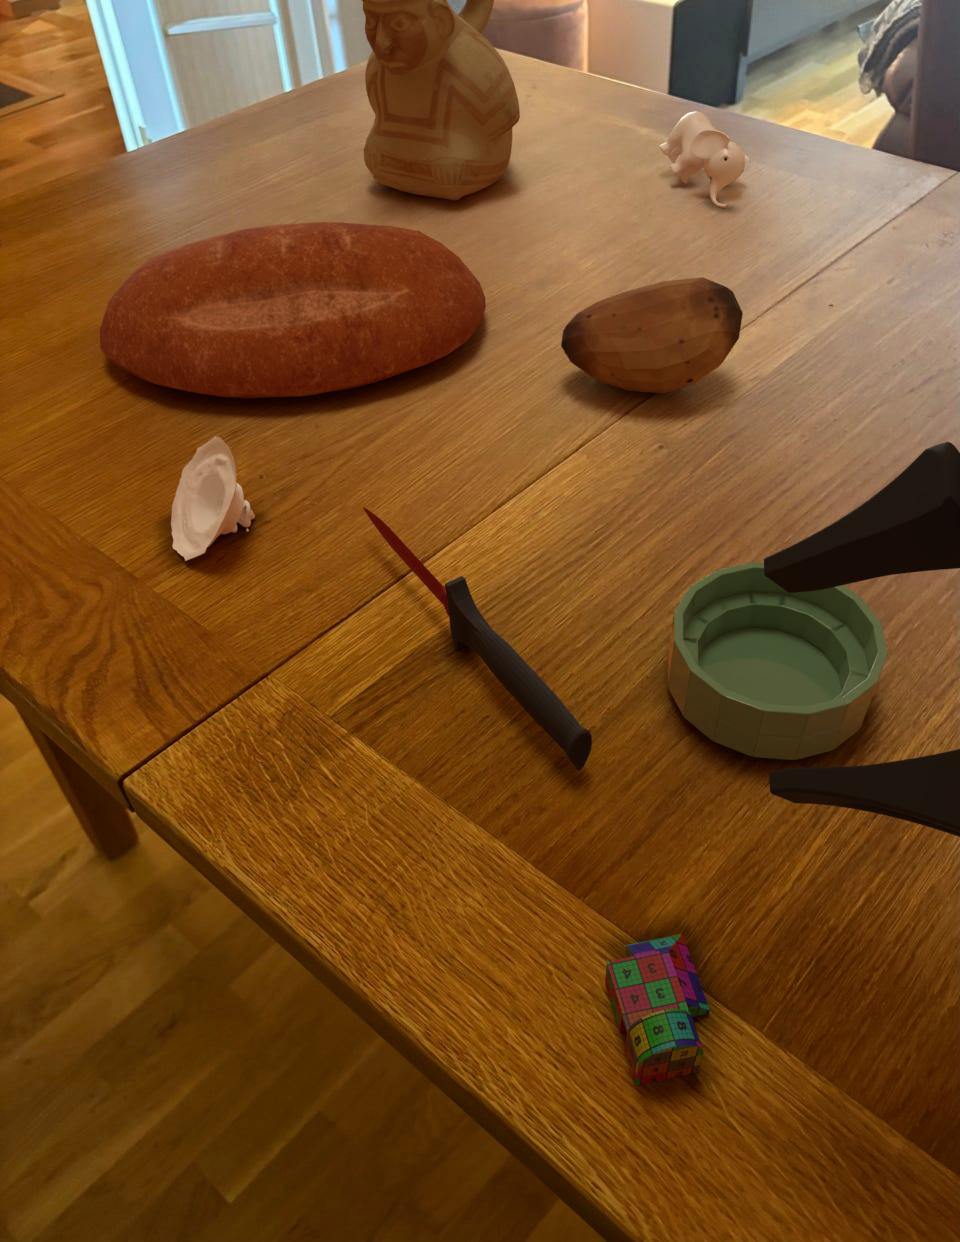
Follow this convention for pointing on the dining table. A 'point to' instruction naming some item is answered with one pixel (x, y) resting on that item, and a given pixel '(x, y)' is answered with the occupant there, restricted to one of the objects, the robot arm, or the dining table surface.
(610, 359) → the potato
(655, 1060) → the block
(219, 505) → the seashell
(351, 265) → the bread
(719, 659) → the bowl
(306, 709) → the dining table surface
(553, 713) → the knife
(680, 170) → the elephant figurine
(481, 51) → the ceramic vessel
